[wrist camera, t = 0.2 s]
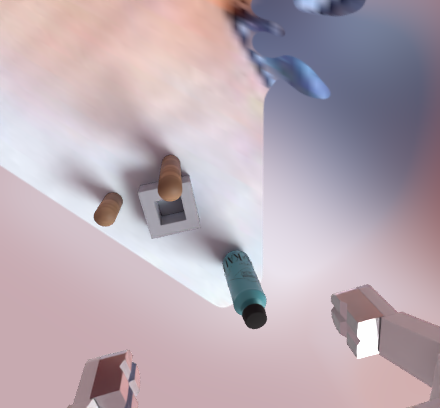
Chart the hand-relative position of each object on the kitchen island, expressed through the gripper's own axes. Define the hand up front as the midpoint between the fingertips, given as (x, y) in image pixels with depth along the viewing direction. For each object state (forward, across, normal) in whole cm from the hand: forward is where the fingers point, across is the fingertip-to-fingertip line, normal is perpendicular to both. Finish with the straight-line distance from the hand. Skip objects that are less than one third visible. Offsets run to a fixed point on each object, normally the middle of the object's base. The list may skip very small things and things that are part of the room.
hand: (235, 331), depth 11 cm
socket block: (+48, +6, +13) cm, 50 cm away
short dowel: (+48, +16, +10) cm, 51 cm away
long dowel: (+48, +4, +5) cm, 48 cm away
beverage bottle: (+48, -5, +30) cm, 56 cm away
